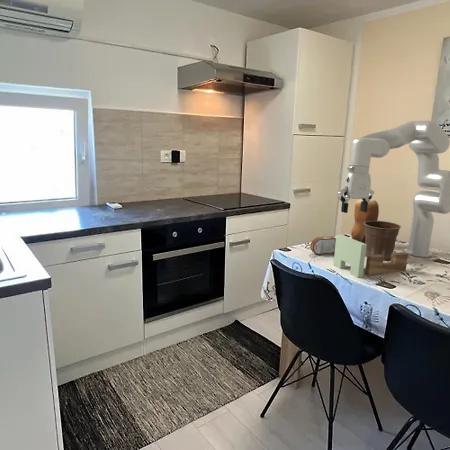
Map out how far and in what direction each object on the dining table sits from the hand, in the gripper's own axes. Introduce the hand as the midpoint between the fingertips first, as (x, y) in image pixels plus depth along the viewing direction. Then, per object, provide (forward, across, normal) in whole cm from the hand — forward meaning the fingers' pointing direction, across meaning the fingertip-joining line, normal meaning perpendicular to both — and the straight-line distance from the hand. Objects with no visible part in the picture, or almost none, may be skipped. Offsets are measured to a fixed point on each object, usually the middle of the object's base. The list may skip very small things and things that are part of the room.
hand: (353, 211), depth 152 cm
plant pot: (+26, +28, +12) cm, 40 cm away
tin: (+26, +5, +23) cm, 35 cm away
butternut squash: (+26, +34, +30) cm, 52 cm away
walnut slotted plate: (+26, +15, -6) cm, 31 cm away
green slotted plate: (+26, 0, 0) cm, 26 cm away
